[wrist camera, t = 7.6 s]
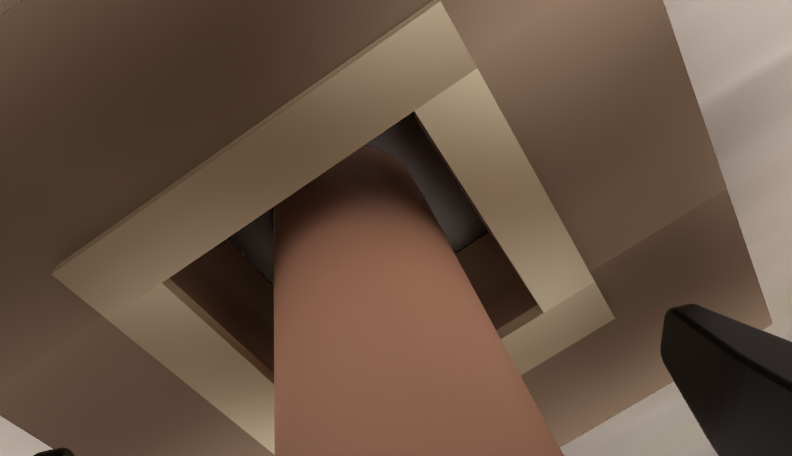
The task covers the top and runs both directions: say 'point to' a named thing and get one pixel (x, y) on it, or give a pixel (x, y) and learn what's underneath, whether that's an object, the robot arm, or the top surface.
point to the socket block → (309, 158)
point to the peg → (386, 329)
